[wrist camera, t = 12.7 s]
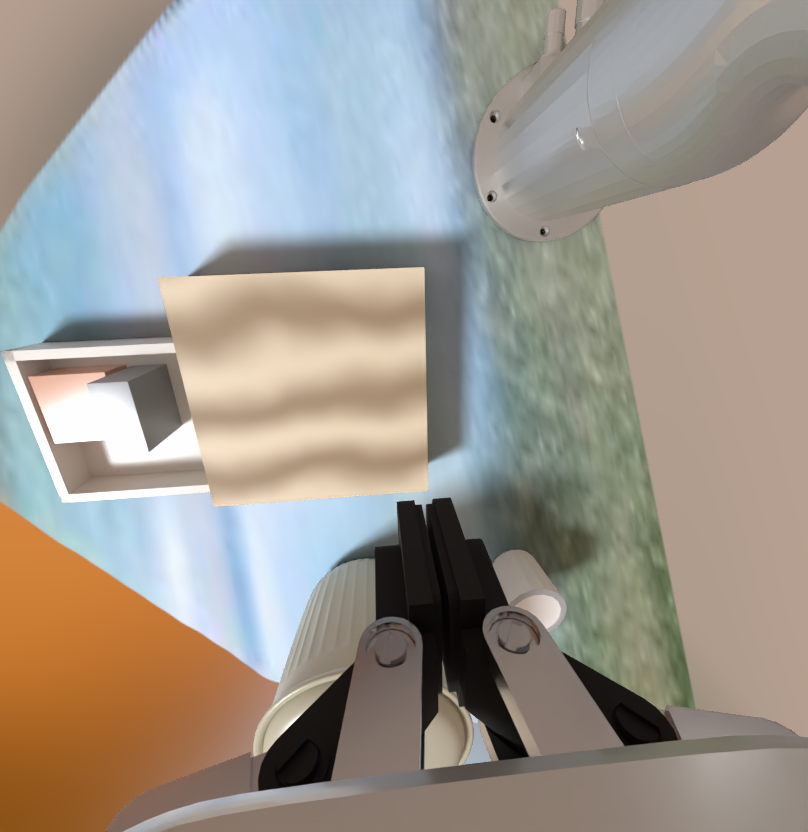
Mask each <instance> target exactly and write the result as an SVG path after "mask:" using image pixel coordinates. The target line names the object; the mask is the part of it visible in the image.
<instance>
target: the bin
mask: <svg viewBox="0 0 808 832" xmlns="http://www.w3.org/2000/svg"><path fill="white" fill-rule="evenodd" d="M1 353H2V356H3V358H4V361H5V363H6V366H7V368H8V371H9V373H10V375H11V378H12V380H13V383H14V385H15V388H16V390H17V393H18V395H19V398H20V400H21V402H22V405H23V407H24V410H25V412H26V415H27V417H28V420H29V422H30V425H31V427H32V429H33V432H34V434H35V437H36V439H37V442H38V444H39V447H40V449H41V452H42V454H43V456H44V459H45V461H46V464H47V466H48V469H49V471H50V474H51V476H52V479H53V481H54V483H55V486H56V488H57V491H58V493H59V496H60V498H61V501H62V503H67V502H81V501H94V500H108V499H122V498H136V497H150V496H163V495H177V494H191V493H205V492H210V489H209V485H208V481H207V477H206V473H205V469H204V465H203V461H202V457H201V452H200V448H199V444H198V440H197V436H196V432H195V428H194V424H193V420H192V416H191V412H190V408H189V404H188V400H187V396H186V392H185V388H184V384H183V380H182V376H181V372H180V367H179V363H178V359H177V355H176V351H175V347H174V343H173V339H172V336H170V337H150V338H129V339H109V340H88V341H68V342H47V343H38V344H33V345H29V346H24V347H19V348H15V349H10V350H5V351H1ZM118 364H126V366H127V368H128V367H130V366H138V365H156V364H167V368H168V372H169V376H170V379H171V383H172V387H173V391H174V395H175V399H176V402H177V406H178V410H179V414H180V418H181V421H182V426H181V427H180V428H178V429H177V430H176V431H175V432H174V433H172V434H171V435H170V436H169V437H167V438H166V439H165V440H164V441H162V442H161V443H160V444H159V445H158V446H156V447H155V448H154V449H153V450H151V451H150V452H149V453H134V454H120V455H111V454H110V451H109V448H108V446H107V443H106V440H97V441H83V442H69V443H54V440H53V438H52V435H51V433H50V430H49V428H48V425H47V423H46V420H45V418H44V415H43V413H42V410H41V408H40V405H39V403H38V400H37V398H36V395H35V393H34V390H33V388H32V385H31V383H30V380H29V378H28V377H29V376H32V375H36V374H39V373H42V372H45V371H49V370H52V369H55V368H68V367H85V366H102V365H118Z"/></svg>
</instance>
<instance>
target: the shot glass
mask: <svg viewBox="0 0 808 832" xmlns="http://www.w3.org/2000/svg"><path fill="white" fill-rule="evenodd" d="M492 565H493V567H494V570H495V572H496V575H497V577H498V580H499V582H500V584H501V587H502V589H503V592H504V594H505V597H506V599H507V601H508V604H509V606H514V607H519V608H522V609H524V610H527V611H529V612H530V613H532V614H533V615H534V616H536V617H537V618H538V619H539V620H540V622H541V623H542V624H543V625H544V627H545V628H546V630H547V631H548V633H549V632H551V631H552V630H553V629H555V628H556V627H557V626H559V624H560V623H561V621H562V620H563V619H564V617H565V613H566V608H567V607H566V604H565V601H564V599H563V597H562V596H561V594H560V593H559V592H558V590H557V589H556V588H555V586H554V585H553V583H552V582H551V581H550V579H549V578H548V577H547V575H546V574H545V572H544V571H543V570H542V568H541V567H540V565H539V564H538V563H537V561H536V560H535V559H534V557H533V556H532V555H531V554H529V553H528V552H526V551H523V550H510V551H507V552H505V553H502V554H501V555H500V556H498V557H497V558H496V559H495V561H494V562H493V564H492Z"/></svg>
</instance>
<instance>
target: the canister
mask: <svg viewBox="0 0 808 832" xmlns="http://www.w3.org/2000/svg"><path fill="white" fill-rule="evenodd" d="M374 621H376V605H375V558H374V559H369V558H366V559H357V560H354V561H352V560H351V561H349V562H347V563H343V564H341V565H340V566H339V567H335V568H334V569H333V570H332V571H331V572H328V573H327V574H326V575H325V577H324V578H322V579H321V580H320V582H319V583H318V585H317V586H316V587H315V589H314V590H313V592H312V594H311V597H310V599H309V601H308V603H307V606H306V608H305V611H304V614H303V616H302V619H301V622H300V625H299V627H298V630H297V633H296V636H295V639H294V642H293V644H292V647H291V650H290V653H289V656H288V659H287V662H286V665H285V668H284V671H283V674H282V677H281V680H280V683H279V686H278V689H277V692H276V695H275V698H274V702H273V704H272V705H271V707H270V708H269V709H268V710H267V712H266V713H265V715H264V716H263V718H262V719H261V721H260V723H259V725H258V727H257V730H256V733H255V738H254V745H253V751H254V756H257V755H260V754H262V753H265V752H267V751H268V750H269V748H270V747H271V746H272V745H273V743H274V742H275V741H276V740H277V739H278V738H279V737H280V736H281V735H282V734H283V733H284V732H285V731H286V730H287V729H288V728H289V727H290V726H291V725H292V724H293V723H294V722H295V721H296V720H297V719H298V718H299V717H300V716H301V715H302V714H303V713H304V712H305V711H306V710H307V709H308V708H309V707H310V706H311V705H312V704H313V703H314V702H315V701H316V700H317V699H318V698H319V697H320V696H321V695H322V694H323V693H324V692H325V691H326V690H327V689H328V688H329V687H330V686H331V685H332V684H333V683H334V682H335V681H336V680H337V679H338V678H339V677H340V676H341V675H342V674H343V673H344V672H345V671H346V670H347V669H348V668H349V667H350V666H351V665H352V664H353V663H354V662H355V658H356V653H357V648H358V643H359V640H360V638H361V635H362V633H363V632H364V630H365V629H366V628H367V627H368V626H369V625H370V624H372V623H373V622H374ZM442 688H443V691H442V693H441V694H438V713H437V715H436V716H435V718H434V719H433V720H432V722H431V723H430V725H429V726H428V727H427V729H426V730H425V769H433V768H441V767H450V766H458V765H463V764H464V762H465V761H466V759H467V757H468V755H469V753H470V750H471V747H472V744H473V737H474V728H473V722H472V718H471V715H470V713H469V712H468V711H467V710H466V709H465V707H459V704H458V699H457V694H456V692H450V693H449V691H448V687H447V682H446V677H445V671H444V666H443V660H442Z"/></svg>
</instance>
